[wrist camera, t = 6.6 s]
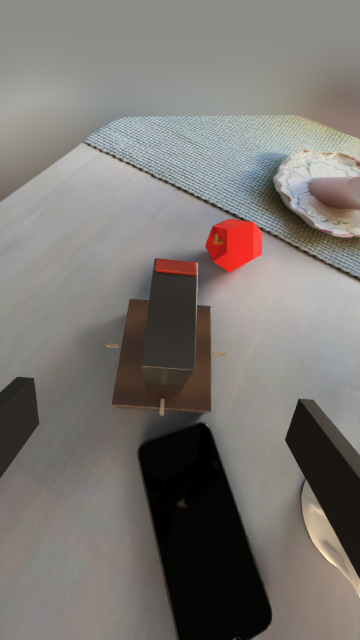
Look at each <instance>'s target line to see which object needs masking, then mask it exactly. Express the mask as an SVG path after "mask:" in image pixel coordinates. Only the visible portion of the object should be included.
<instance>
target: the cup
mask: <svg viewBox="0 0 360 640" xmlns="http://www.w3.org/2000/svg"><path fill="white" fill-rule="evenodd" d="M301 501H302V511H303V518H304V521H305V524H306V527H307V530H308V532H309V535H310V537H311V540H312V542H313V543H314V545H315V546H316V547H317V548H318V550H319V551H320V552H321V553H322V555H323V556H324V557H325V558H326V559H327V560H328V561H329V562H330V563H332V564H333V565H334V566H336V567H337V568H338V569H339V570H340V571H341V572H342V573H343V574H344V575H345V576H346V577H347V579H348V580H349V581H350V582H351V583H352V584H353V585H354V587H355V589H356V591H357V593H358V595H359V597H360V579H359V577H358V575H357V573H356V571H355V570H354V568H353V566H352V564H351V562H350V560H349V558H348V557H347V555H346V553H345V551H344V549H343V547H342V545H341V543H340V542H339V540H338V538H337V536H336V534H335V532H334V530H333V529H332V527H331V525H330V523H329V521H328V519H327V517H326V516H325V514H324V512H323V510H322V508H321V506H320V504H319V503H318V501H317V499H316V497H315V495H314V493H313V491H312V489H311V488H310V486H309V484H308V482H307V480H305V483H304V486H303V491H302V495H301Z"/></svg>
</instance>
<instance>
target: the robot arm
mask: <svg viewBox="0 0 360 640" xmlns="http://www.w3.org/2000/svg"><path fill="white" fill-rule="evenodd" d="M38 425H39V417H38V408H37V400H36V391H35V383H34V378H25V377H17V378H16V379H14V380H13V381H12V382H11V383H10V384H9V385H8V386H7V387H6V388H5V389H3V390H2V391H1V392H0V478H1V476H2V475H3V474H4V472H5V471H6V469H7V468H8V467H9V465H10V464H11V462H12V461H13V460H14V458H15V457H16V455H17V454H18V453H19V451H20V450H21V448H22V447H23V446H24V444H25V443H26V441H27V440H28V439H29V437H30V436H31V434H32V433H33V432H34V430H35V429H36V427H37V426H38ZM285 441H286V443H287V445H288V447H289V449H290V450H291V452H292V454H293V456H294V458H295V460H296V462H297V463H298V465H299V467H300V469H301V471H302V473H303V475H304V476H305V478H306V480H307V482H308V484H309V486H310V488H311V489H312V491H313V493H314V495H315V497H316V499H317V501H318V503H319V504H320V506H321V508H322V510H323V512H324V514H325V516H326V517H327V519H328V521H329V523H330V525H331V527H332V529H333V530H334V532H335V534H336V536H337V538H338V540H339V542H340V543H341V545H342V547H343V549H344V551H345V553H346V555H347V557H348V558H349V560H350V562H351V564H352V566H353V568H354V570H355V571H356V573H357V575H358V577H359V579H360V455H359V454H358V452H357V451H356V450H355V449H354V448H353V447H352V445H351V444H350V443H349V442H348V441H347V439H346V438H345V437H344V436H343V435H342V433H341V432H340V431H339V430H338V429H337V427H336V426H335V425H334V424H333V423H332V422H331V420H330V419H329V418H328V417H327V416H326V414H325V413H324V412H323V411H322V410H321V408H320V407H319V406H318V405H317V404H316V402H315V401H314V400H309V399H299V400H298V403H297V406H296V409H295V412H294V415H293V418H292V421H291V424H290V427H289V430H288V432H287V435H286V438H285Z"/></svg>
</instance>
